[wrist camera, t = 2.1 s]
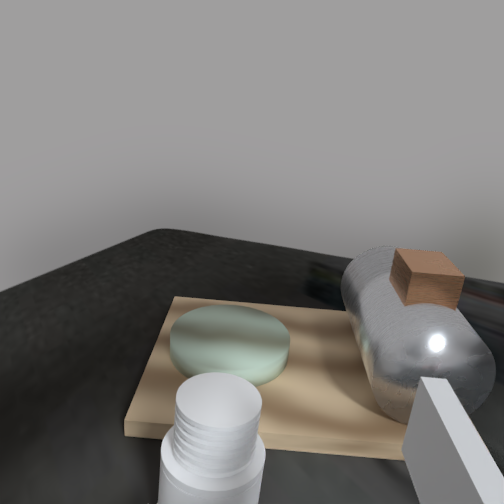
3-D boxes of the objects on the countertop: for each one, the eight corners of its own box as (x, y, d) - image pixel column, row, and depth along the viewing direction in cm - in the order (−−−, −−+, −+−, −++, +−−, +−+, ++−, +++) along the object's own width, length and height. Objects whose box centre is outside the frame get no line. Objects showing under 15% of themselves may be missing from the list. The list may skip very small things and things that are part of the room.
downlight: (186, 629, 23) (201, 475, 20) (115, 531, 28) (118, 391, 24) (290, 536, 29) (316, 403, 25) (217, 467, 33) (230, 345, 30)
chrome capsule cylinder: (333, 312, 52) (349, 214, 48) (412, 319, 52) (435, 222, 48) (362, 422, 36) (390, 289, 32) (477, 432, 36) (521, 300, 32)
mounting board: (174, 308, 53) (175, 280, 52) (408, 328, 53) (415, 301, 52) (124, 436, 35) (123, 398, 34) (483, 467, 35) (496, 430, 34)
